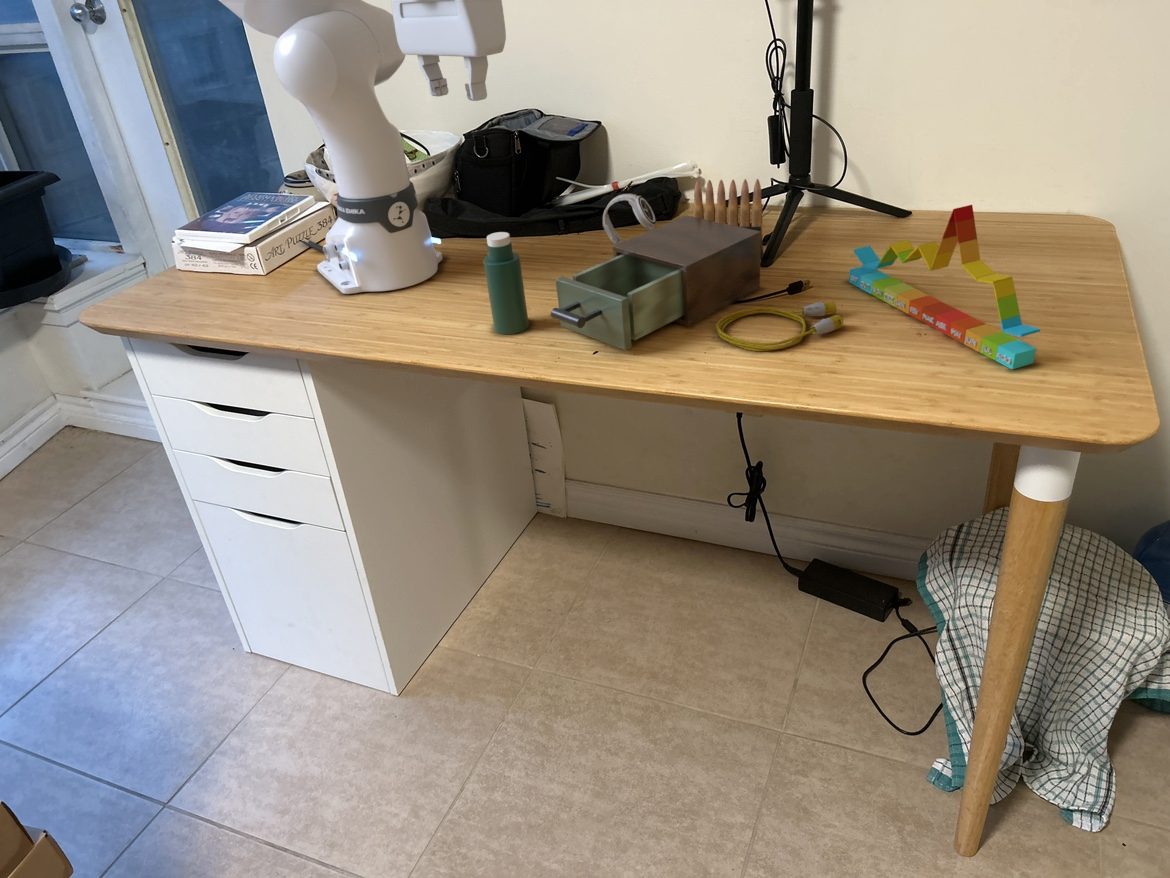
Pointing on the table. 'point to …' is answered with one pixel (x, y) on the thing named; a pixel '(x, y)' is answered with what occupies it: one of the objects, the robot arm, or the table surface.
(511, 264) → the glue bottle
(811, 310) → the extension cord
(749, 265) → the cabinet
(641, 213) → the watch
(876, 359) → the table surface
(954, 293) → the table surface
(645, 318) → the drawer
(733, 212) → the ammunition clip
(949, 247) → the chart
